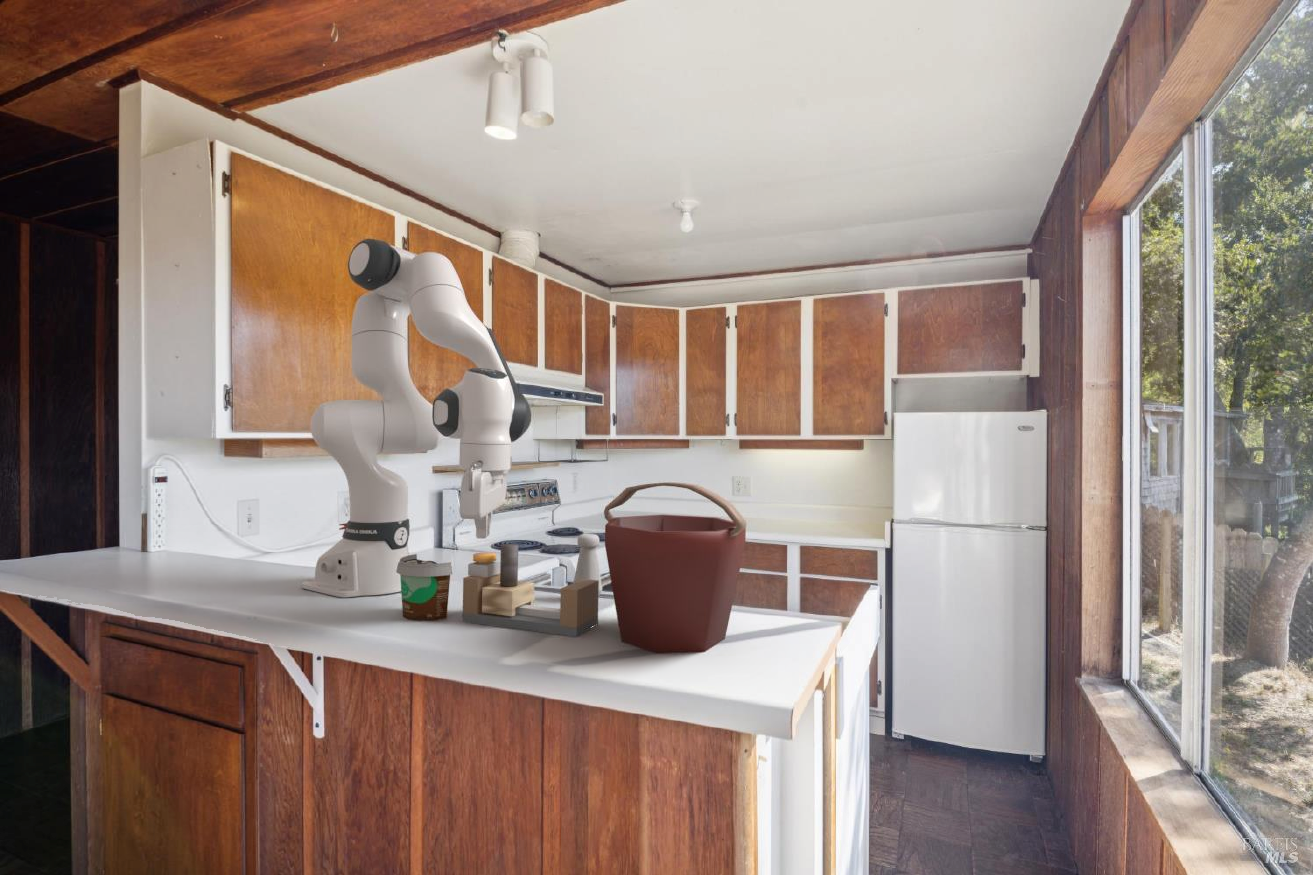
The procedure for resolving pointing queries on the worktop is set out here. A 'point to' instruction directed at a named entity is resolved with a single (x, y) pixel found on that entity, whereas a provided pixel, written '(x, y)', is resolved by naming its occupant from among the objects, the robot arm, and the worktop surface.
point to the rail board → (568, 620)
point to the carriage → (507, 586)
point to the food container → (424, 588)
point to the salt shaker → (588, 559)
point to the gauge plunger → (484, 558)
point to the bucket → (674, 574)
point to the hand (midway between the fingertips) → (483, 537)
